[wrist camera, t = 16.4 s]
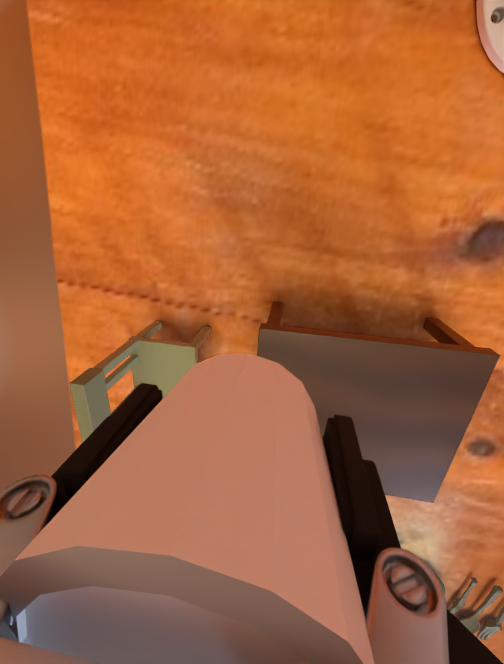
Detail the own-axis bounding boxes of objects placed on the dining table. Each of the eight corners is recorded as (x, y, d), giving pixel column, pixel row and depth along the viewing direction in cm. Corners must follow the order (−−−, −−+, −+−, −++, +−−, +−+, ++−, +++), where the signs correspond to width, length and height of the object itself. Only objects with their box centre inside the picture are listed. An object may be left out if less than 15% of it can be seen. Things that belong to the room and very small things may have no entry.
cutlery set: (322, 531, 45) (323, 547, 42) (531, 577, 42) (543, 596, 39) (301, 601, 52) (301, 617, 50) (475, 643, 49) (483, 662, 47)
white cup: (372, 396, 10) (503, 717, 4) (274, 503, 13) (252, 792, 6) (199, 300, 10) (6, 476, 3) (136, 432, 12) (-34, 667, 6)
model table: (269, 297, 31) (259, 328, 23) (444, 315, 29) (500, 355, 21) (259, 415, 38) (248, 471, 30) (402, 436, 36) (433, 503, 27)
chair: (154, 319, 34) (68, 383, 21) (211, 325, 33) (157, 396, 21) (159, 376, 37) (86, 462, 25) (211, 384, 37) (164, 476, 24)
